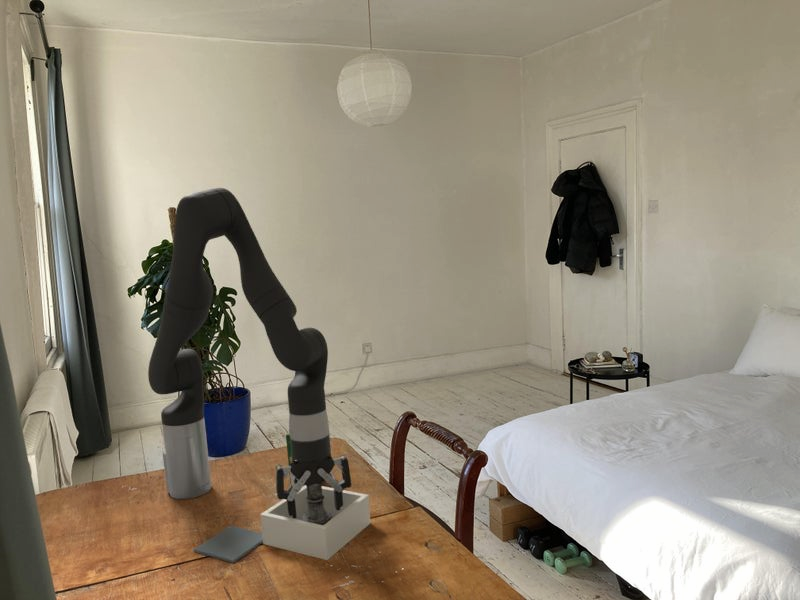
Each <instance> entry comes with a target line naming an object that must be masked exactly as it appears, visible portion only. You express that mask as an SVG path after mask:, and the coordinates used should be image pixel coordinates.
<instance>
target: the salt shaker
mask: <svg viewBox="0 0 800 600" xmlns="http://www.w3.org/2000/svg"><path fill="white" fill-rule="evenodd" d="M322 486H323V485H322V484H313V485H311V486H307V497H306V501H308V512H306V513H305V514H304V515H303V516H302V520H301V521H306V522H310V523H315V524H319V525H325V524H326V523H327V522H329V521H330V520H331V519H332V518H331V516H332V514H331V512H329V511H328V510H325V509H324V505H323V499H324V495H322Z"/></svg>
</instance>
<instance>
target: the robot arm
mask: <svg viewBox="0 0 800 600" xmlns="http://www.w3.org/2000/svg"><path fill="white" fill-rule="evenodd" d="M243 209H244V208H243V207H242V205H241V203H240V202H239V200H238V199H237V197H236V196H235V195H234V194H233V193H232V192H231V191H230V190H228V189H227V188H224V187H215V188H209V189H205V190H204V189H203V190H200V191H195V192H191V193H188V194H186V195H184V196H183V197H181V199H180V200H179V202H178V204H177V206H176V210H175V217H174V231H173V246H172V248H173V249H172V256H171V257H172V258H171V263H170V269H169V270H170V271H169V276H168V277H169V278H168V280H167V281H168V282H167V286H166V290H165V293H164V294H165V295H164V302H163V307H162V314H161V319H160V325H159V329H158V334H157V337H156V340H155V343H154V347H153V349H152V353H151V356H150V360H149V363H148V372H147V374H148V384H149V386H150V388H151V389H152V391H153V393H155V394H158V395H161V396H162V395H163V396H164V395H170V394H175V393H180V392H181V393H180V394H179V396H178V397H177V398H176V399H175V400H174V401H173V402H171V403H170V404H168V405H167V406H165V407H164V408H162V411H161V413H160V414H161V416H160V417H161V419H160V420H161V426H162V427H161V428H162V434H163V443H164V452H163V454H162V459H163V468H164V477H165V486H166V493H168V494H170V496H171V498H173V499H177V500H179V499H180V500H186V499H194V498H196V497H198V498H199V497H200V496H203V495H205V494H207V493H208V492H210V491H211V489H212V480H211V479H212V478H211V471H210V469H211V468H210V459H209V450H208V442H207V431H206V423H205V422H206V421H205V413H204V412H205V394H204V392H205V391H204V373H203V366H202V365H203V364H202V361H201V358H200V356H199V354H198V352H197V351H196V350H195V349H193V348H184V349H182V348H183V347H184V345H185V344H187V342H188V341H189V340H190V339H191V338H192V337H193V336H194V335H195V334H196V333H197V332H198V331H199V330H200V329H201V328H202V326H203V325H204V324H205V322H206V321H207V318H208V316H209V314H210V310H211V305H212V302H213V296H214V287H213V284H212V281H211V278H210V277H209V275H208V273H207V271H206V269H205V268H204V265H203V259H204V254H205V249H206V246H207V244H208V242H209V241H210V240H214V239H217V238H220V237H223V236H224V237H226V239H227V240H228V242H229V243H230V244H231V246H232V247H233V249H234V250H235V252H236V255H237V258H238V263H239V272H240V283H241V288H242V291H243V294H244V296H245V298H246V301H247V302H248V303H249V305H250V307H251V309H252V311H253V312H254V313H255V314H256V316H257V318H258V319H259V320H260V322H261V323H262V325H263V326H264V329H265V333H266V335H267V336H266V337H267V339H268V342H269V344H270V346H271V350H272V352H273V353H274V356H275V358H276V359H277V360H278V362H279V363H280V364H281V365H282V366H283V367H284V368H286V369H287V370H289V371H292V372H295V373H294V377H293V379H292V380H291V381H290V383H289V384H288V387H287V404H288V433H289V434H290V443H291V454H292V463H291V465H290V466H289V465H286V466H285V465H284V466H283V465H281V464H277V465H276V466H275V481H276V482H275V483H276V484H275V486H276V496H277V498H278V500H281V501H282V500H283V499H286V500H287V506H288V513H289V515H290V516H292V517H293V519H294V518H297V517H296V505H295V499H294V498H295V496H296V494H297V493H298V492H299V491H300V490H301V488H302V487H303V485H304V486H305V485H306V486H311V485H313V484H321V485H322V484H323V483H324V482H326V483H327V484H328V485H329V486H331V488H334V501H335V508H336V510H337V511H338V510H340V507H342V506H343V496H342V491H343V490H345V489H347V488H348V489H349V488H351V487H352V480H351V471H350V466H349V460H348V458H347V456H346V455H345V454H341V455H340V456H339V457H336V458H333V457H332V451H331V439H330V438H331V437H330V426H329V425H330V423H329V415H328V413H327V412H328V411H327V404H326V392H325V383H326V377H327V370H328V369H327V367H328V359H329V356H328V355H329V352H328V350H329V349H328V343H327V341H326V338H325V337H324V335H323V333H322V332H321V331H320V330H318V329H316V328H314V327H305V328H301V329H299V328H298V326H297V323H296V321H295V317H296V314H297V306H296V305H295V303H294V301H293V299H292V298H291V297H290V295H289V294H288V292H287V290H286V289H285V288H284V286H283V285H282V283H281V282H280V281H279V279H278V277H277V276H276V274H275V272H274V271H273V269H272V267H271V266H270V264H269V262H268V260H267V258H266V255H265V254H264V252H263V249H262V247H261V245H260V243H259V241H258V238H257V237H256V235H255V232H254V230H253V228H252V225H251V224H250V222H249V219H248V217H247V214H246V213H245V211H244V210H243ZM335 465H336V466H337V468H338V469H340V470H341V476H342V480H340V481H339V480H338V479H337V478H336V477H335V476H334V475H333V474H332V473H331V472H332V470H333V469H334V467H335ZM289 472H291V473H292V474H293V475H294V476H295V478H294V479H293V481H292V483H291V485H289V487H288V489H287V490H285V479H287V477H288V474H289Z"/></svg>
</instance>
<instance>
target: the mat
mask: <svg viewBox="0 0 800 600" xmlns="http://www.w3.org/2000/svg"><path fill="white" fill-rule="evenodd" d="M261 544H263V537H262V532H259V531H255V530H250V529H246V528H243V527H239V526H234V525H230V526H228V527H227V528H225V529H224V530H222V531H220V532H219V533H217V534H216V535H214V536H213V537H211V538H209V539H207V540H206V541H205V542H203V543H201V544H200V545H199V546H196V547H195V548H194V549H193V552H194V553H197V554H200V555H205V556H208V557H211V558H215V559H218V560H223V561H225V562H229V563H233V564H234V563H236V562H237V561H238V560H240V559H241V558H243V557H245V555H247V554H248V553H250V552H251V551H252V550H254V549H256V548H257V547H258V546H259V545H261Z"/></svg>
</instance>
